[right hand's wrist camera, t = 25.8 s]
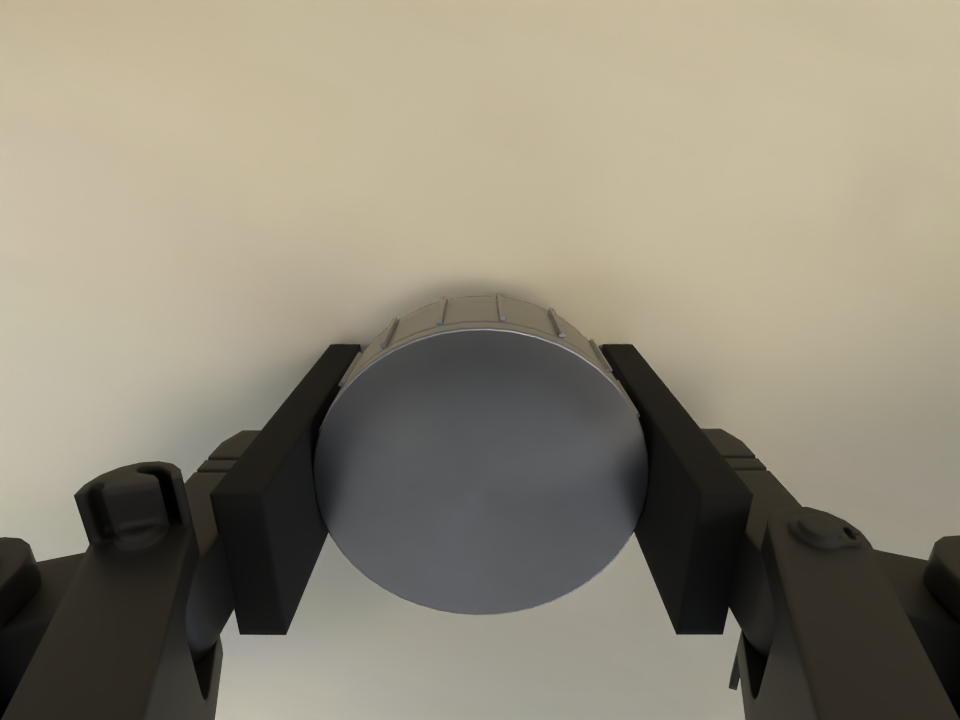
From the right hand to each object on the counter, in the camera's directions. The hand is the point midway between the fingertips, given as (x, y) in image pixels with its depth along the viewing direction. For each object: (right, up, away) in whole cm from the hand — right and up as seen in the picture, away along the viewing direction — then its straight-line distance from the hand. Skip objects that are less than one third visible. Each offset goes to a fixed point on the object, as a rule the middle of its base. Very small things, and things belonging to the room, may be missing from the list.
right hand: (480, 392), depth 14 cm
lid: (0, -1, -4) cm, 4 cm away
